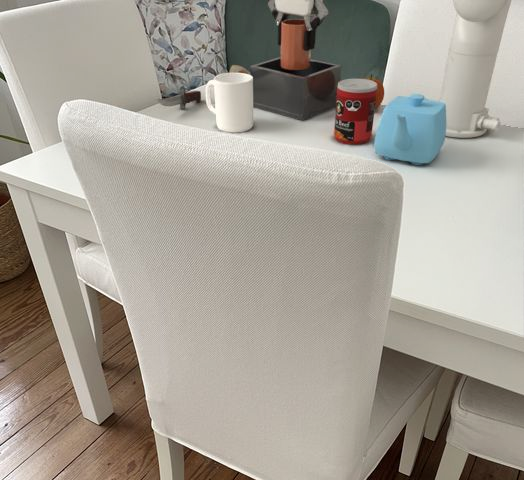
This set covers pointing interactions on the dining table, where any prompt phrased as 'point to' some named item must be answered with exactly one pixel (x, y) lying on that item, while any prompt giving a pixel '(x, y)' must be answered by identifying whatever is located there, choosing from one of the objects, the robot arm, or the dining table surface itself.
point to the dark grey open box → (295, 88)
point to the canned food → (355, 111)
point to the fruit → (378, 91)
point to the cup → (232, 101)
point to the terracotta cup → (294, 45)
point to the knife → (181, 98)
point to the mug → (238, 69)
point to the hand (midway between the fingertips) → (295, 46)
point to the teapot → (411, 129)
